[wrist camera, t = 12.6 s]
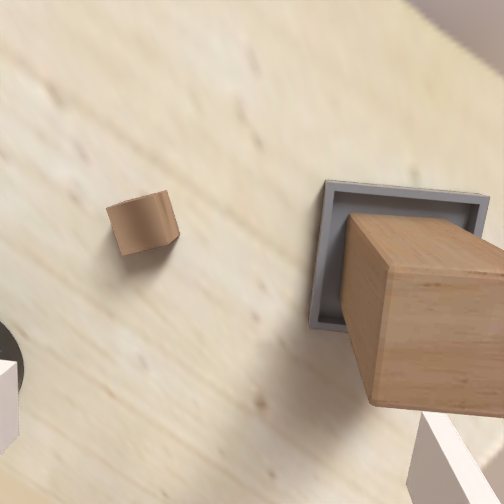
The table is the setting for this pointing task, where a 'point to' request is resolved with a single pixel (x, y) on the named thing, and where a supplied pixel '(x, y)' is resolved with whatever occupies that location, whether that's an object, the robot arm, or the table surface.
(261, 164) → the table surface
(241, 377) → the table surface
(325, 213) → the tray
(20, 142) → the table surface
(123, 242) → the walnut cube
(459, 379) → the wooden block
